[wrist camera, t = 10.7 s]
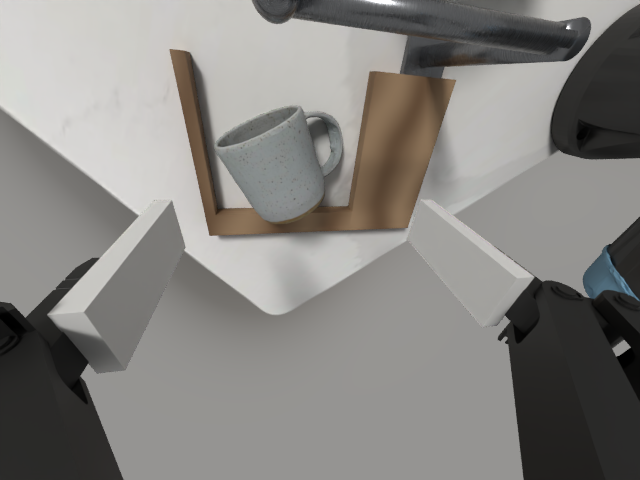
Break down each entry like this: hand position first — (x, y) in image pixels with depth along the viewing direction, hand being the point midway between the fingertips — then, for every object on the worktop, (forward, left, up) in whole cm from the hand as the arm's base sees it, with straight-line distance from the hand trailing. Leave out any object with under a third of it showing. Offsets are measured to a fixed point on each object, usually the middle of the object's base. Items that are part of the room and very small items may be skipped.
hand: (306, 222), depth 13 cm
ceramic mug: (0, -1, -14) cm, 14 cm away
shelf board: (-4, 0, -14) cm, 14 cm away
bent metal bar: (-6, -9, -14) cm, 18 cm away
